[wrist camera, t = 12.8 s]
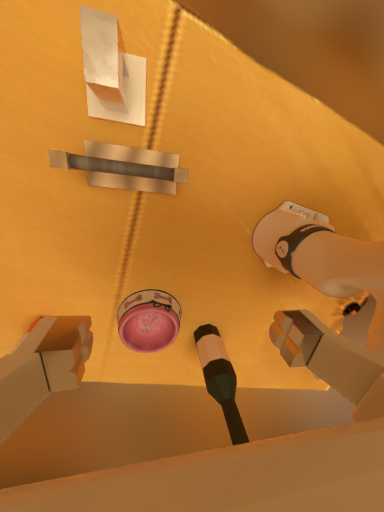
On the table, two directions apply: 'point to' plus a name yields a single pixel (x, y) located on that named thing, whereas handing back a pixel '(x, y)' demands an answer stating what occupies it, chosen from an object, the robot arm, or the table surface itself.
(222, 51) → the table surface
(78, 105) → the table surface
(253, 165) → the table surface
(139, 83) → the ceramic tile
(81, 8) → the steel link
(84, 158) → the rail stand
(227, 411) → the wine bottle
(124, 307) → the dog bowl
